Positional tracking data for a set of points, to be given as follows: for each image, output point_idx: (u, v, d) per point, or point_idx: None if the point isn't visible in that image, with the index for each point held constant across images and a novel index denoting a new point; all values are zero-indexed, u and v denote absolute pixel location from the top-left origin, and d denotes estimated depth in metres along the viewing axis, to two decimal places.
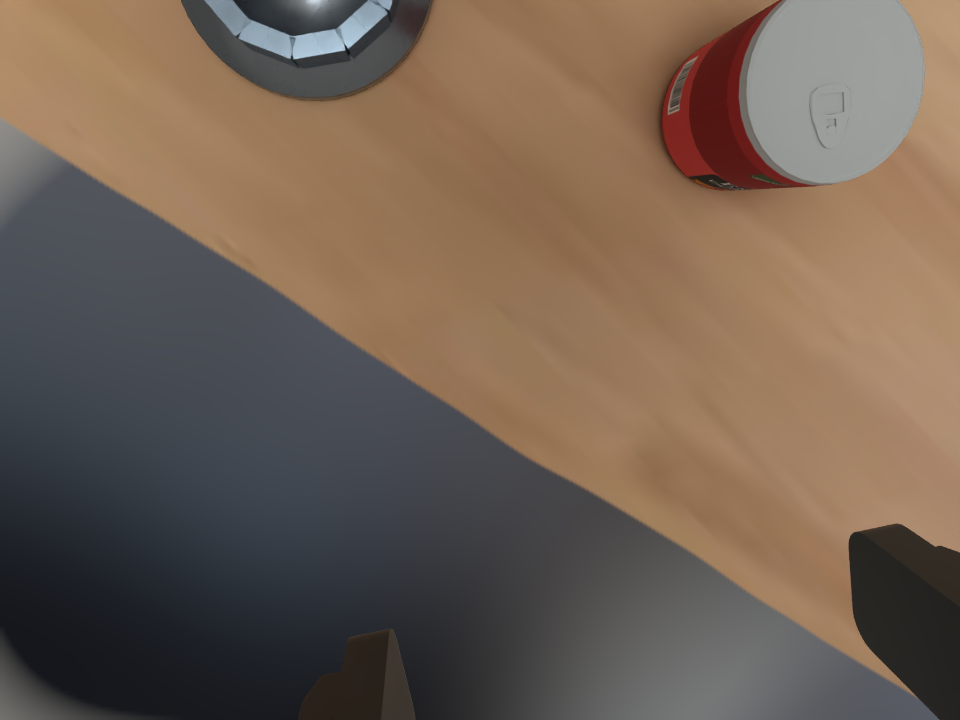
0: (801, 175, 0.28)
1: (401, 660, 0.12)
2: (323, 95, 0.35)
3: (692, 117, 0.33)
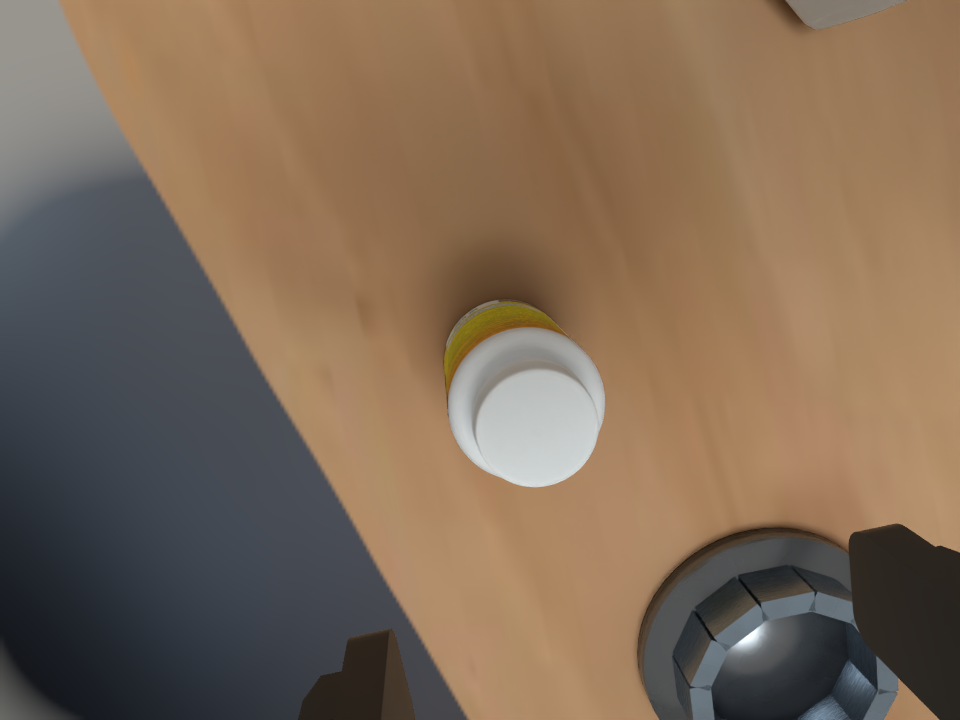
0: None
1: (401, 660, 0.12)
2: None
3: None
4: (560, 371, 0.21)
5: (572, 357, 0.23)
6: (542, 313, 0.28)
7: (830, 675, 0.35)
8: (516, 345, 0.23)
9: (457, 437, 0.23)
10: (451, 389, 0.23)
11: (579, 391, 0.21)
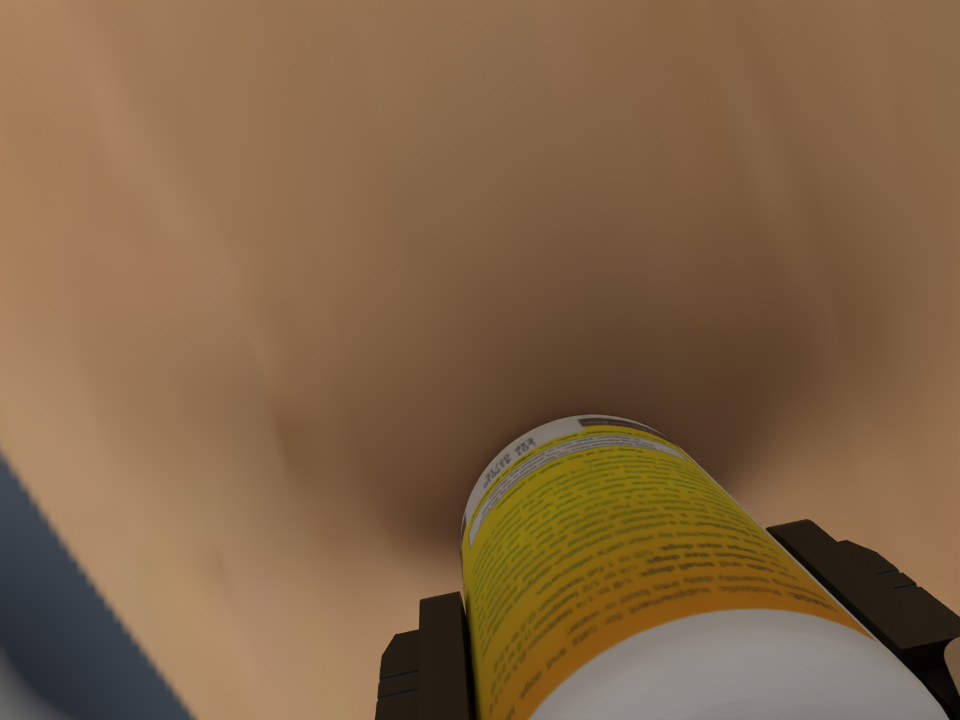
0: None
1: None
2: None
3: None
4: None
5: None
6: (688, 461, 0.12)
7: None
8: (726, 703, 0.07)
9: None
10: None
11: None
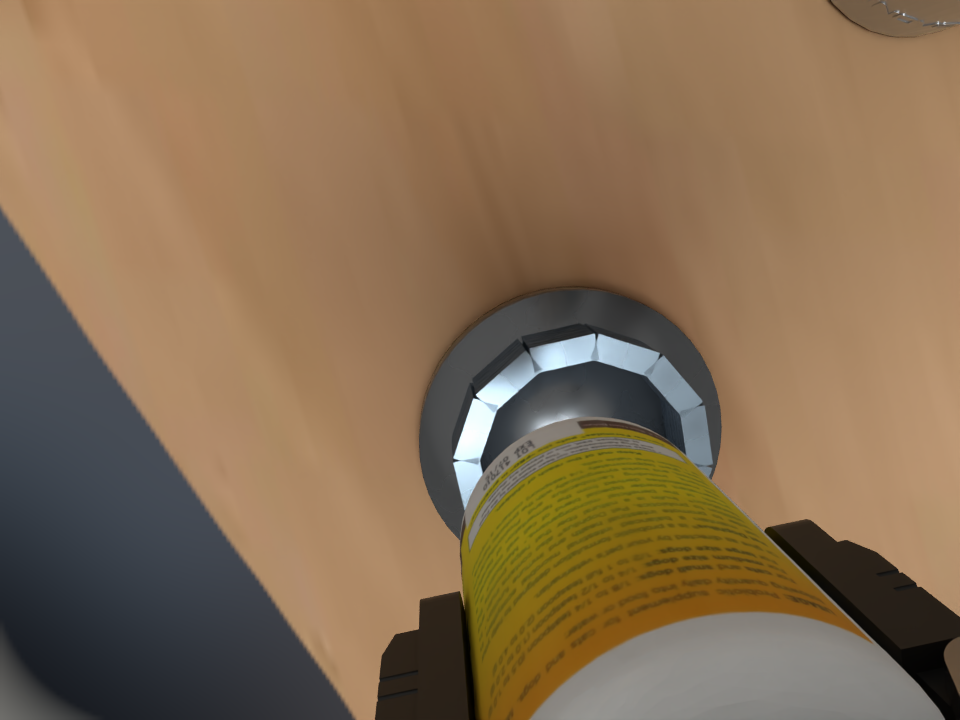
0: None
1: None
2: None
3: None
4: None
5: None
6: (687, 463, 0.12)
7: None
8: (723, 705, 0.07)
9: None
10: None
11: None
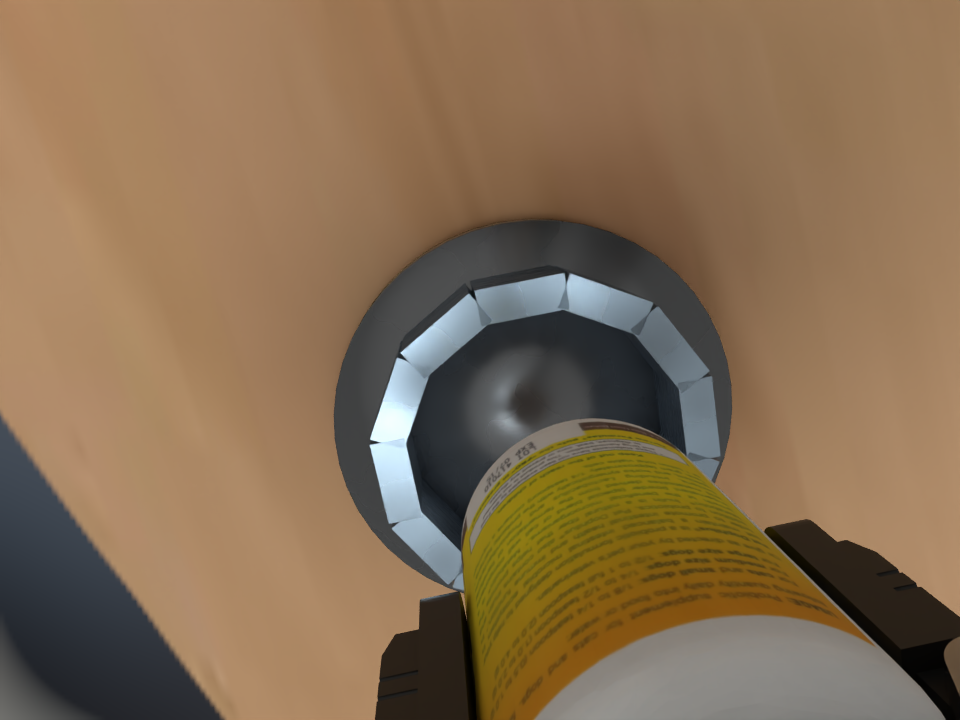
0: None
1: None
2: (457, 589, 0.23)
3: None
4: None
5: None
6: (688, 465, 0.12)
7: None
8: (726, 709, 0.07)
9: None
10: None
11: None
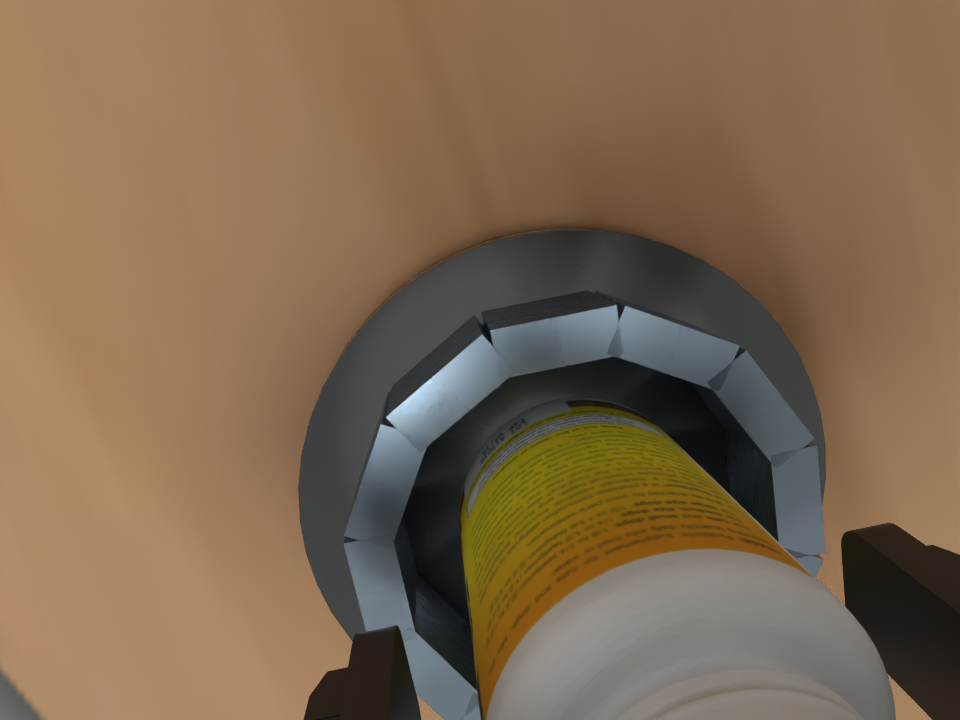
0: None
1: None
2: None
3: None
4: None
5: (834, 643, 0.08)
6: (664, 437, 0.14)
7: None
8: (681, 622, 0.08)
9: None
10: None
11: None
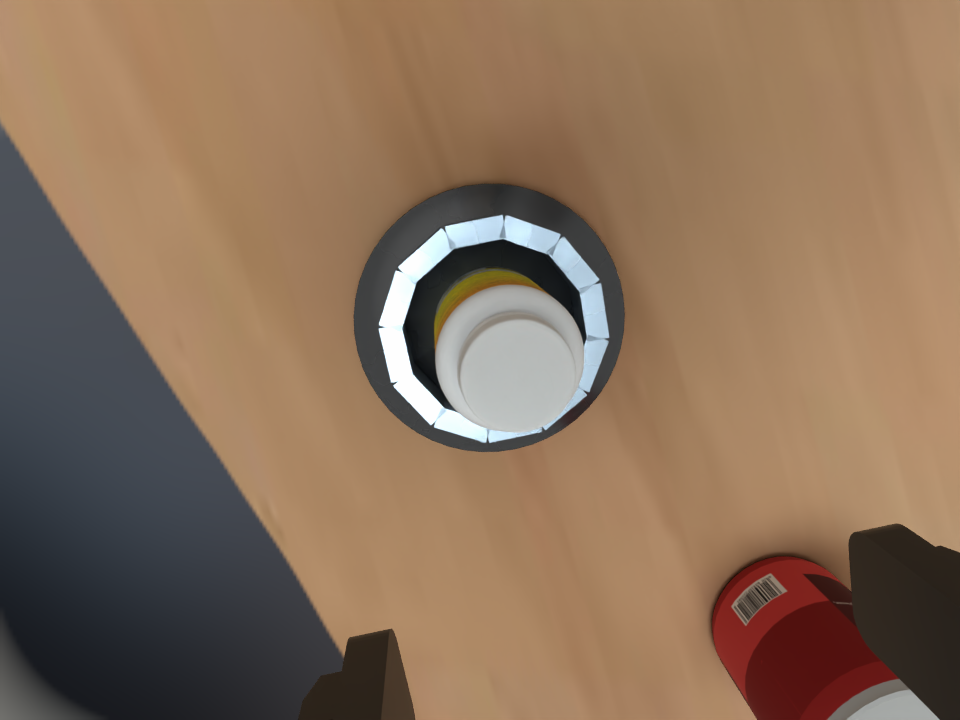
0: None
1: (401, 660, 0.12)
2: (439, 441, 0.34)
3: (756, 657, 0.33)
4: (539, 322, 0.22)
5: (552, 312, 0.24)
6: (527, 278, 0.30)
7: None
8: (498, 300, 0.24)
9: (444, 390, 0.25)
10: (438, 344, 0.25)
11: (557, 340, 0.22)
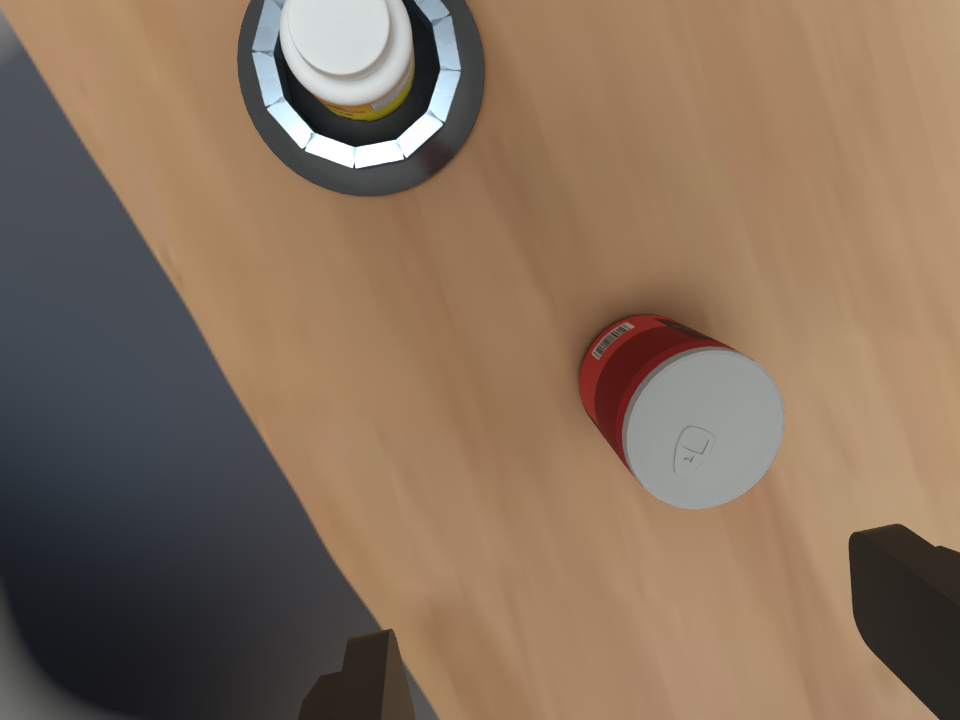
0: (646, 485, 0.32)
1: (401, 660, 0.12)
2: (318, 184, 0.37)
3: (601, 376, 0.37)
4: None
5: None
6: None
7: (425, 95, 0.37)
8: None
9: (287, 58, 0.28)
10: None
11: None
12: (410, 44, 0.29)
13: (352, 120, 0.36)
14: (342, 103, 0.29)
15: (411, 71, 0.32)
